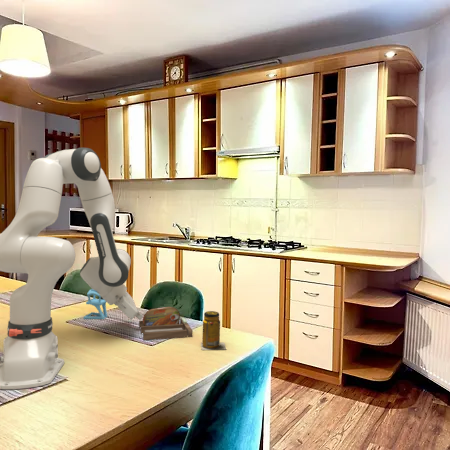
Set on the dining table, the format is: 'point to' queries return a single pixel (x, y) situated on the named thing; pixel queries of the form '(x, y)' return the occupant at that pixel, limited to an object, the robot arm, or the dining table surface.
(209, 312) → the condiment
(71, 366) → the dining table surface
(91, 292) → the chair
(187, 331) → the wooden slotted tray
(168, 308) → the tin
